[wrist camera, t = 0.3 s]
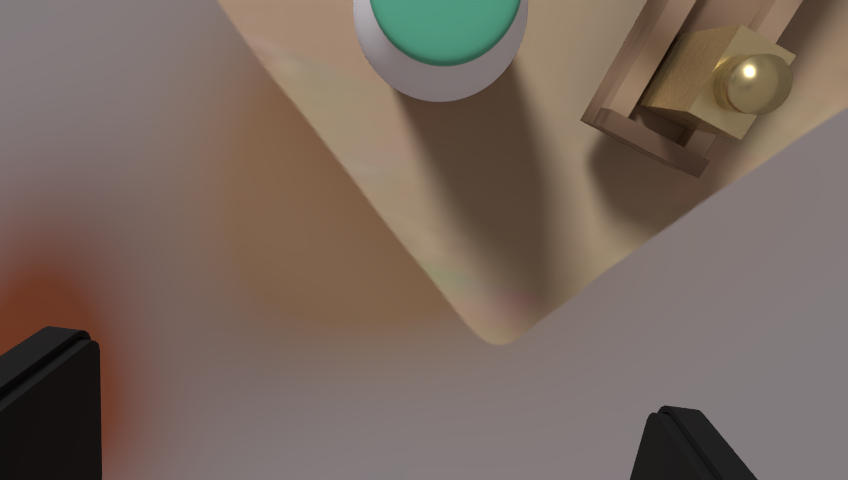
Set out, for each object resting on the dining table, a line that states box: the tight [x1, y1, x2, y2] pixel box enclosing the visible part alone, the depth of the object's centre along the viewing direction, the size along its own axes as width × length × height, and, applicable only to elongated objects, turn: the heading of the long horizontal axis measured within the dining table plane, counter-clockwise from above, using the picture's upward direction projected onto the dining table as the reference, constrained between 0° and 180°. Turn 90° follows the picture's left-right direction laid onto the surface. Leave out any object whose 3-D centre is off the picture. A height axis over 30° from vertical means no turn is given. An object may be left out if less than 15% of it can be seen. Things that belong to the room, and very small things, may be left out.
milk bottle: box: [353, 0, 528, 102], centre depth 26 cm, size 8×8×20 cm
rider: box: [637, 25, 796, 140], centre depth 27 cm, size 4×3×8 cm
